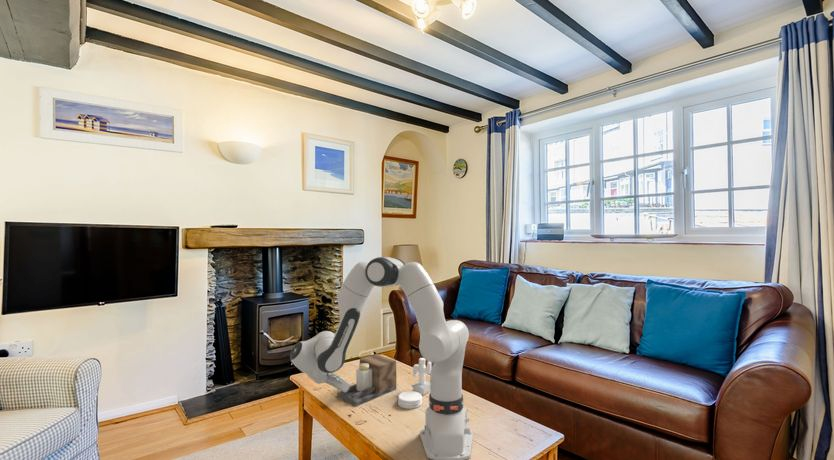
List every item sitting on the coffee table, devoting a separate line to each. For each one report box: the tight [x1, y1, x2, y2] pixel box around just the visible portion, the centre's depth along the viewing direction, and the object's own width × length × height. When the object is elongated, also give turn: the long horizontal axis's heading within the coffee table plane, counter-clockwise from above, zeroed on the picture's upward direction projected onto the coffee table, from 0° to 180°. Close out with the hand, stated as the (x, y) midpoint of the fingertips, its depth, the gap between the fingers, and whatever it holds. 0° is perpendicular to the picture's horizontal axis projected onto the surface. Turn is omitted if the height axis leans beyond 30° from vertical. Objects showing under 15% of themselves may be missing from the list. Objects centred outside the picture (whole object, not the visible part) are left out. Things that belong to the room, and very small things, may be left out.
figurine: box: [410, 357, 432, 396], centre depth 168 cm, size 7×9×15 cm
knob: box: [355, 363, 372, 391], centre depth 166 cm, size 5×5×11 cm
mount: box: [336, 353, 397, 407], centre depth 168 cm, size 22×14×13 cm, turn 136°
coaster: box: [397, 390, 423, 410], centre depth 157 cm, size 10×10×4 cm
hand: (341, 388), depth 158 cm, fingers closed
